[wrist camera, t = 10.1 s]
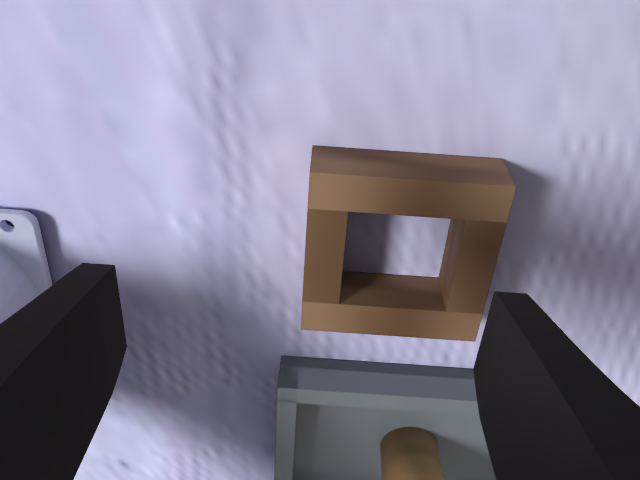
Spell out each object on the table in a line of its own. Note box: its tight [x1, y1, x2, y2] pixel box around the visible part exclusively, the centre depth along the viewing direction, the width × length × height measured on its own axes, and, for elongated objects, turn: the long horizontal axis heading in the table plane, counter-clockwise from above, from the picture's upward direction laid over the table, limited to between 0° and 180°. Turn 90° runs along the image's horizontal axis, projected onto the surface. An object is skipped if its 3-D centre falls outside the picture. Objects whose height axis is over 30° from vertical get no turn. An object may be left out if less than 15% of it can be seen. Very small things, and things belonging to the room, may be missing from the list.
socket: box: [301, 146, 516, 341], centre depth 21 cm, size 6×6×2 cm
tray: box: [274, 356, 496, 480], centre depth 28 cm, size 12×9×2 cm
